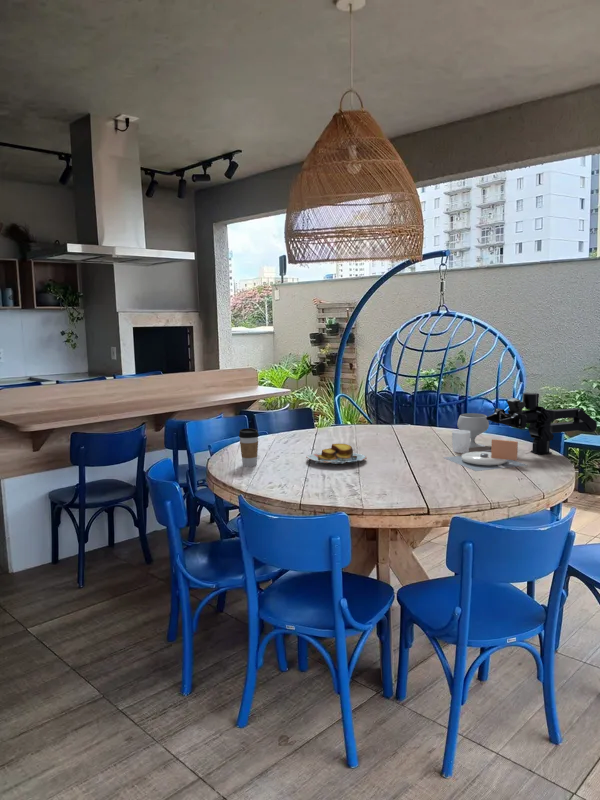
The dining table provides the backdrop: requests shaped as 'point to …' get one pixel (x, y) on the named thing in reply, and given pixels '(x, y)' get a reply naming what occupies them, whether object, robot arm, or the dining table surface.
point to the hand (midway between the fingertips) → (492, 419)
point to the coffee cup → (249, 446)
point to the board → (484, 467)
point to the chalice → (473, 426)
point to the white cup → (461, 441)
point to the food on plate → (337, 455)
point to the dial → (493, 454)
